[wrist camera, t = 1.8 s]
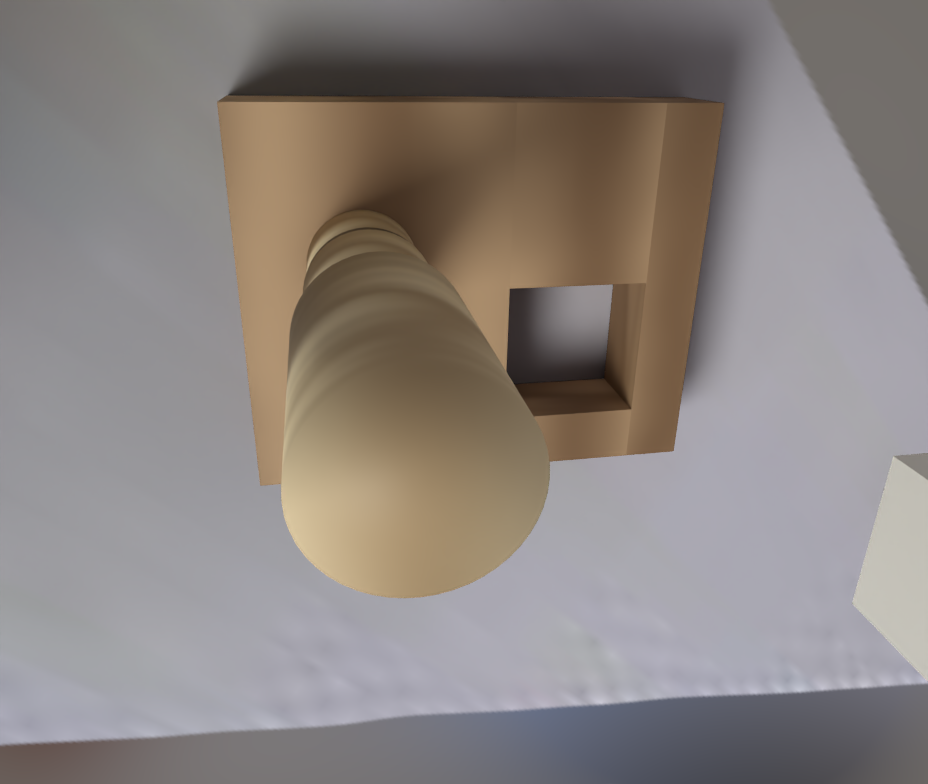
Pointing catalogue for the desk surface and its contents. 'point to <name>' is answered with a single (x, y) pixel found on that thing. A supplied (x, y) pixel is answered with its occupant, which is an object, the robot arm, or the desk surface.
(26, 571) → the desk surface
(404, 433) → the leg peg
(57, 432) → the desk surface
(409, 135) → the board
